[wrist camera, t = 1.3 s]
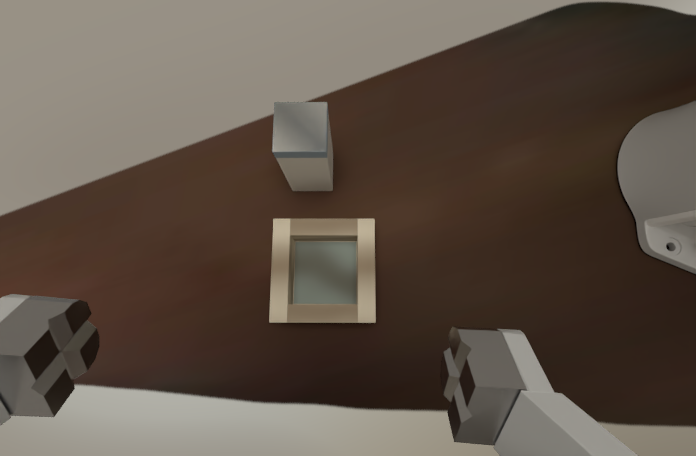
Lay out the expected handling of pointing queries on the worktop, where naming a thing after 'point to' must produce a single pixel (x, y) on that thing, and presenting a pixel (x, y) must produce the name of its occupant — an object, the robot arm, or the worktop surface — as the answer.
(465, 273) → the worktop surface
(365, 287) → the holder
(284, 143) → the peg
